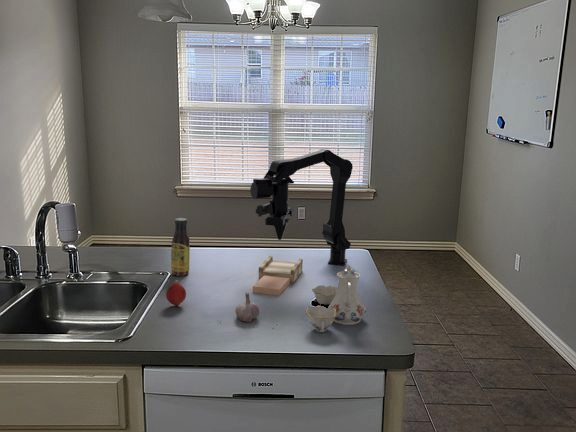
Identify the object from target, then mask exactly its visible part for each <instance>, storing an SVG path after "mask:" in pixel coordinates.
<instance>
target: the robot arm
mask: <svg viewBox="0 0 576 432" xmlns="http://www.w3.org/2000/svg"><path fill="white" fill-rule="evenodd" d="M322 163H324V164H325V165H326V166H327V167H329V172H330V173H329V174H330V176H331V179H332V190H331V198H330V199H331V200H330V209H329V219H328V221H327V222H326V223H323V225H322V233H321V234H322V237H323V239H324V240H325V242H326V244H327V245H328V246H330V250H329V251H330V253H329V254H330V255H329V256H330V257H329V260H328V262H327V264H328V265H329V264H330V265H340V266H341V265H342V266H345V265H346V264H347V261H348V259H347V258H346V250H348V249H349V250H350V248H351V245H352V243H351V242H350V241H349V240H348V239H347V237H346V229H345V226H344V225H345V224H344V222H343V217H344V209H345V208H344V207H345V196H346V187H347V183H348V181H349V179H350V178H351V176H352V174H353V173H352V171H353V163H352V161H350V160H349V159H346V158H343V157H341V156H340V155H338V154H335V153H334V152H333V151H331V150H329V149H325V148H321V149H319V150H317V151H314V152H310V153H307V154H304V155H301V156H297V157H294V158H284V159H275V160H272V162H271V163H270V165H269V169H268V170H267V172H266V173H265V175H264V177H263V178H253V179H252V183H251V185H250V189H249V191H250V195H251V197H252V199H254V200H257V199H267V198H271V200H269V202H268V203H264V204H263V203H260V204H258V205H256V208H255V214H257V216H258V218H259V217H262V216H264V215H265V216H266V215H268V216H267V217H266V218H265V219H264V221H265V222H264V223H265V226H274V229H275V233H276V236H277V240H278V241H281V240H282V239H283V237H284V234H285V232H286V229H287V227H288V225H289V223H290V221H291V219H290V218H287V215H290V217H293V216H294V213H295V212H294V211H295V210H294V208H292V207H291V206H290V207H289V203H290V201H291V199H290V198H289V185H291V184H294V183H295V181H294V180H293V179H292V178H291V177H290V176H293V175H294V174H295V173H296V172H297V171H299V170H302V169H305V168H308V167H311V166H314V165H318V164H322Z"/></svg>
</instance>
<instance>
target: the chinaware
mask: <svg viewBox="0 0 576 432" xmlns="http://www.w3.org/2000/svg"><path fill="white" fill-rule="evenodd" d="M354 270H355V269H354ZM354 270H353V269H352V266H351V265H349V264H348V265H347V266H346V267H345V269H343V270H342V271H339V272H337V273H336V276H337V280H338V282H337V286H335V285H329V286H326V285H321V284H320V285H317V286H316V287H315V288H312V289H311V290H312V292H313V294H314V297H315V300H316V301H317V302H318V304H320V305H317V306H315V307H308V308H306V310H305V313H306V315H307V318H308V320H309V323H310V324H311V326H312V327H313V328H314V330H315V331H316V332H317V333H326V331H327V330H328V328H330V327H331V326H332V325H333V323H335V324H338V325H344V326H353V325H357V324H360V323H361V322H362V318H363V317H364V316H365V314H366V313H367V308H366V306H365V305H364V303H363V302H362V301H363V300H362V299H361V297H360V293H359V285H358V283H359V278H360V276H361V275H360V273H359V272H356V271H354ZM321 304H324V305H327V304H330V305H329V306H328V308H326V307H324V306H321Z"/></svg>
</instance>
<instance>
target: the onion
mask: <svg viewBox="0 0 576 432" xmlns="http://www.w3.org/2000/svg"><path fill="white" fill-rule="evenodd" d="M165 298H166V300H167V301H168V303H170V304H171V305H173V306H175V307H179V306H180V305H181V304H182V303H183V302H184V301H185V300H186V298H187V291H186V288H185V287H184V286H183V285H182V284H180V283H179V280H175V281H174V282H172V283H171V284H170V285H169V287H168V288H167V290H166V292H165Z"/></svg>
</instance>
